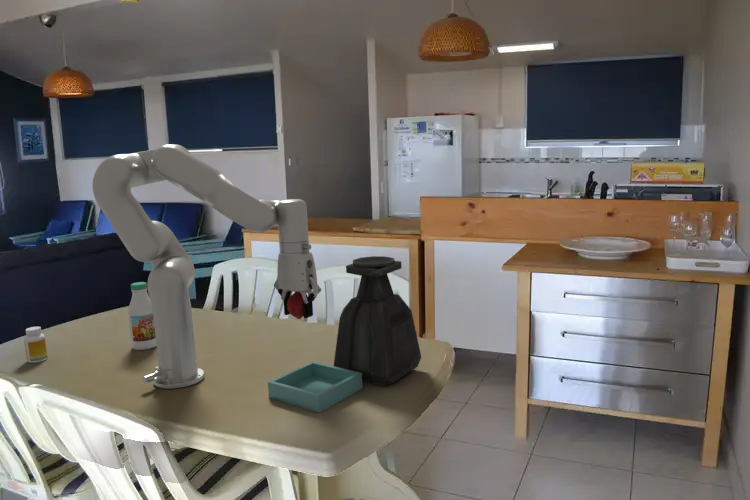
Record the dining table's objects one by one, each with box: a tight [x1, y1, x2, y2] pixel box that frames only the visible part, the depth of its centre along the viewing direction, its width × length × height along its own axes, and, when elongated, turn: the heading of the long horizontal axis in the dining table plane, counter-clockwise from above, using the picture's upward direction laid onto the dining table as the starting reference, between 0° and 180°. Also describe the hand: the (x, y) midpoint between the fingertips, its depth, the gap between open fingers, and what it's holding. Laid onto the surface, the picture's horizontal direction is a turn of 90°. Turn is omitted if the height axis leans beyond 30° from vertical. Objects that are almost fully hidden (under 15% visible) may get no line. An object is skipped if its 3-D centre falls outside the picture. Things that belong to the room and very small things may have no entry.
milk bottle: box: [128, 281, 157, 351], centre depth 189 cm, size 8×8×20 cm
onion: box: [287, 292, 305, 320], centre depth 161 cm, size 6×6×8 cm
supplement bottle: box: [23, 326, 49, 364], centre depth 181 cm, size 5×5×10 cm
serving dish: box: [267, 361, 363, 413], centre depth 149 cm, size 16×16×4 cm
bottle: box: [333, 255, 422, 387], centre depth 158 cm, size 18×16×30 cm
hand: (298, 314), depth 162 cm, fingers closed on onion, 5 cm apart
